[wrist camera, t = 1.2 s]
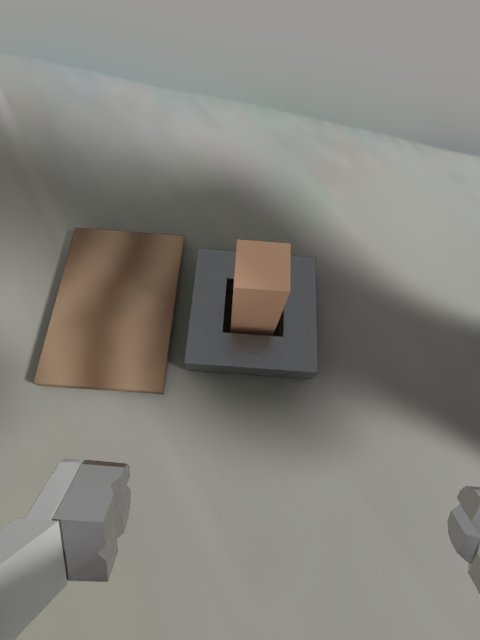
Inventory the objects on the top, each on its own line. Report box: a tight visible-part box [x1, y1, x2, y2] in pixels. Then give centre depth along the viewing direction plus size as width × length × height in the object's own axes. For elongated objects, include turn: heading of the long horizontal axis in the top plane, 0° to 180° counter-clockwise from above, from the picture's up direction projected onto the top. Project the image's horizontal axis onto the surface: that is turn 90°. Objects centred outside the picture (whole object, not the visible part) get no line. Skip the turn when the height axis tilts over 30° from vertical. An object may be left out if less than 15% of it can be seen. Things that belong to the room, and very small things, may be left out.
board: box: [33, 228, 185, 394], centre depth 35 cm, size 11×16×1 cm
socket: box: [184, 248, 318, 379], centre depth 35 cm, size 11×11×2 cm
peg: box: [230, 239, 291, 336], centre depth 31 cm, size 4×4×10 cm
